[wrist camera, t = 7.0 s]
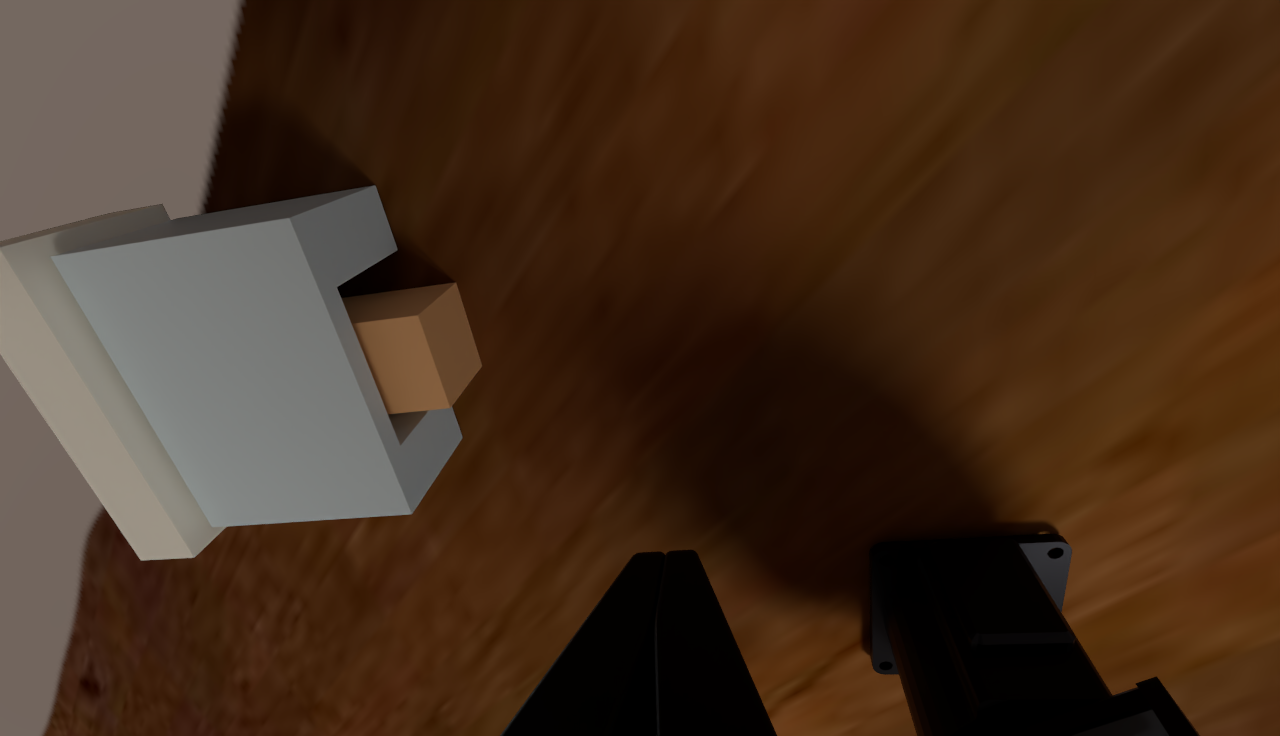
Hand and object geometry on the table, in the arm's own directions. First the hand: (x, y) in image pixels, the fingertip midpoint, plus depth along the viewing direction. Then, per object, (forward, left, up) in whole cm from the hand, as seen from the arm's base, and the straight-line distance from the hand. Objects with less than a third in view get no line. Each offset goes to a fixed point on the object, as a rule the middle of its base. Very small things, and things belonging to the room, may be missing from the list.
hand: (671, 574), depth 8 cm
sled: (0, +13, -12) cm, 17 cm away
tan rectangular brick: (0, +10, -12) cm, 16 cm away
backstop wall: (0, +17, -12) cm, 21 cm away
